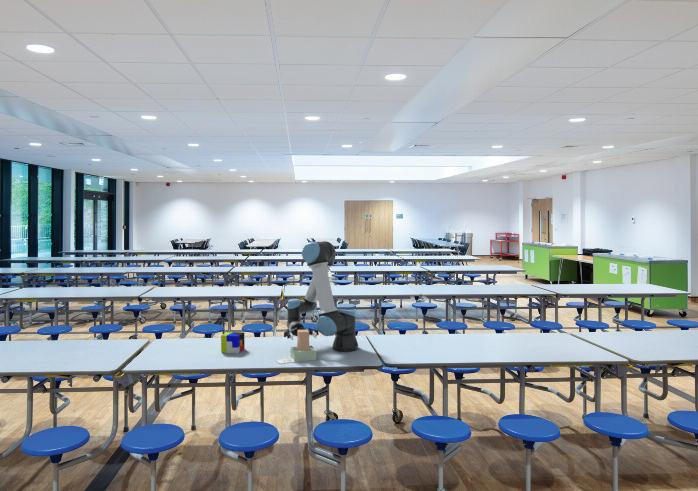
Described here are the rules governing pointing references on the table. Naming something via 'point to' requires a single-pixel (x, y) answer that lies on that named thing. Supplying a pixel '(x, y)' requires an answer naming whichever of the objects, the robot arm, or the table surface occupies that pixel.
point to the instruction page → (286, 361)
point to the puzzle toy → (232, 342)
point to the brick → (303, 339)
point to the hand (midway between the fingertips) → (304, 336)
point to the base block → (303, 354)
